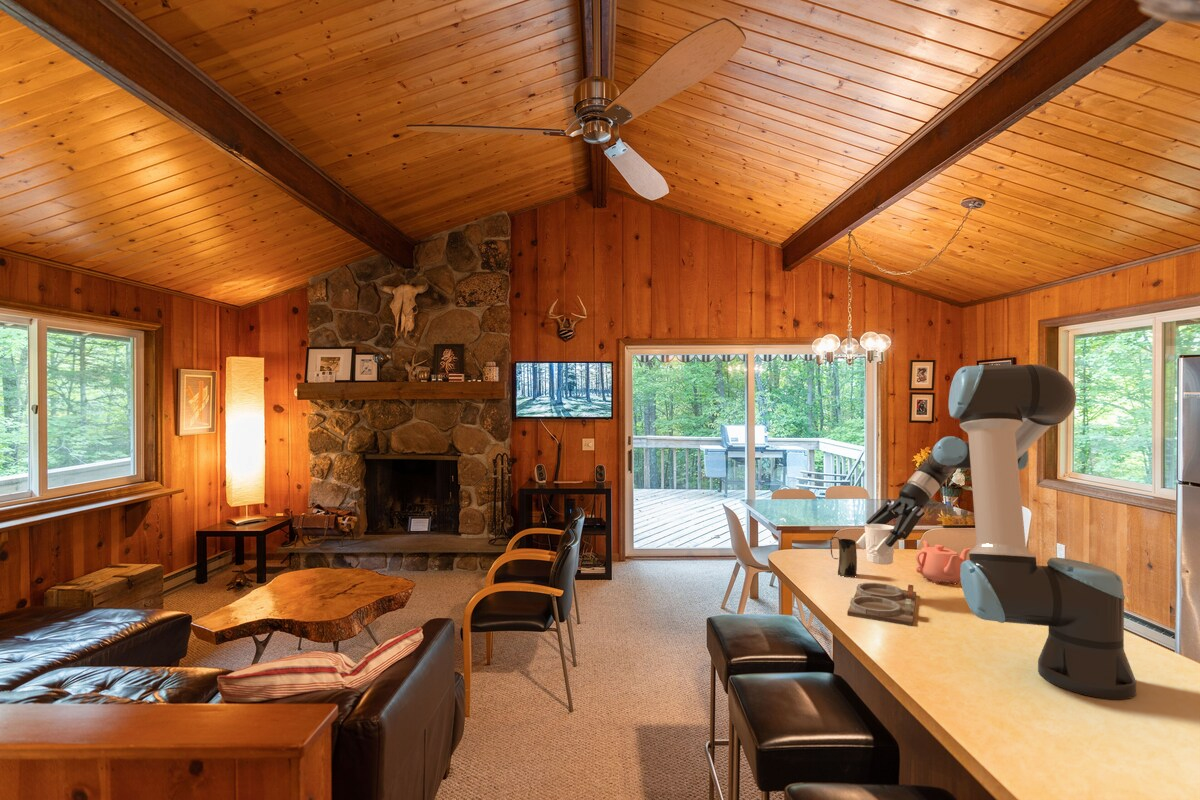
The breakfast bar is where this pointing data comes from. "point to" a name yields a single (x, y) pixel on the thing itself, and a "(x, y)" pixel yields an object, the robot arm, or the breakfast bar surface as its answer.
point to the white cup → (877, 543)
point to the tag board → (883, 603)
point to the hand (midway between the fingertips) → (868, 549)
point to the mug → (846, 557)
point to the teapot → (940, 563)
